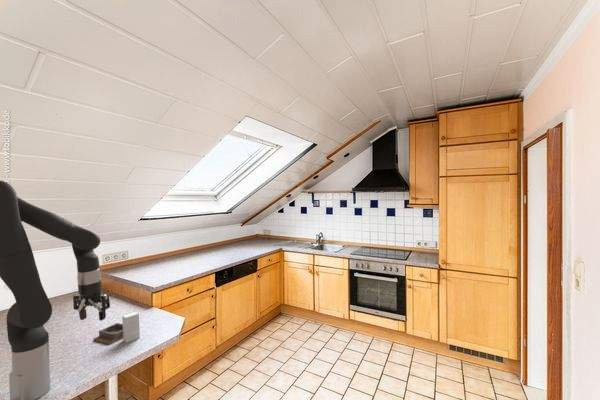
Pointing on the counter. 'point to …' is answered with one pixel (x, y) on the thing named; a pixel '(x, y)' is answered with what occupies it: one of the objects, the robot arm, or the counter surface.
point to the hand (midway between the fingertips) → (93, 319)
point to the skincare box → (131, 327)
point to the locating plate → (110, 334)
